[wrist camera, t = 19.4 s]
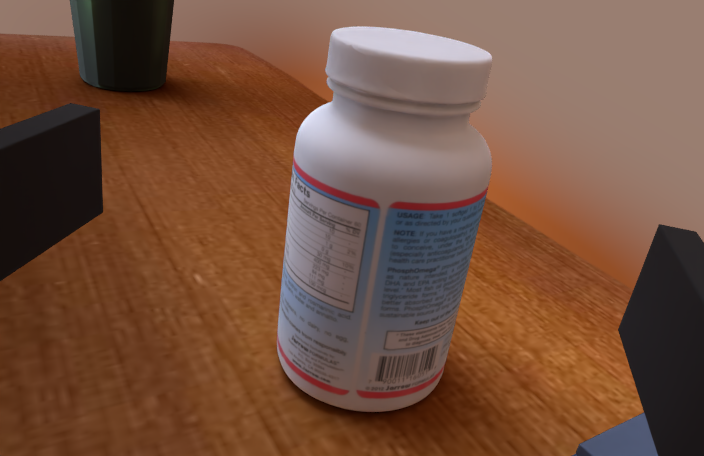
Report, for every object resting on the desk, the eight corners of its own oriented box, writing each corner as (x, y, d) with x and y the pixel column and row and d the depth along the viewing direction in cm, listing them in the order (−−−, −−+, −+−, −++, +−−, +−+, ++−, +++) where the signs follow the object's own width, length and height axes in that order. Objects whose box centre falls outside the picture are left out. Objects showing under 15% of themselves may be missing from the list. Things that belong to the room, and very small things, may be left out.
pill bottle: (433, 324, 26) (500, 40, 21) (448, 432, 20) (544, 80, 15) (284, 303, 25) (317, 12, 21) (258, 406, 20) (295, 42, 15)
